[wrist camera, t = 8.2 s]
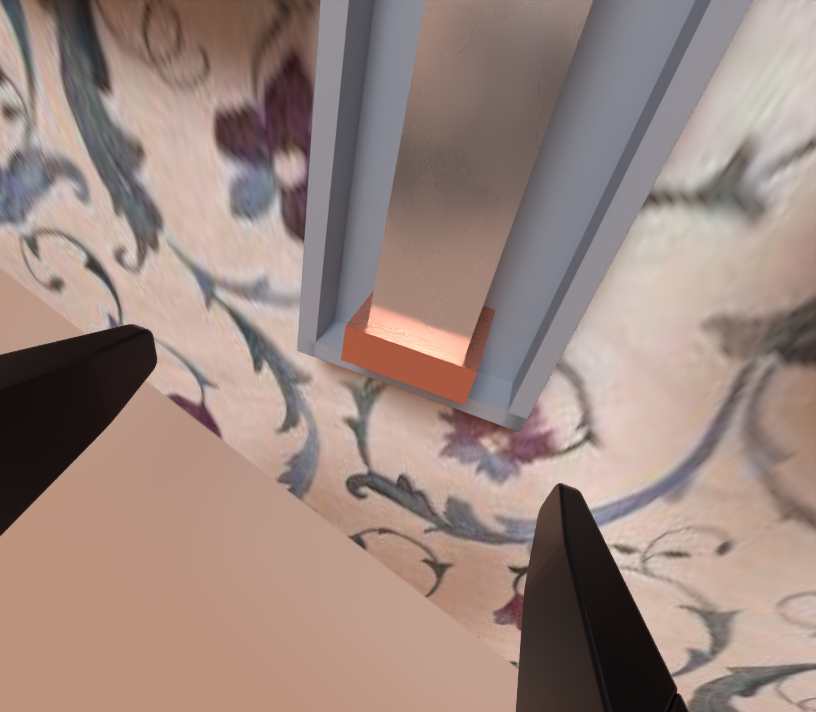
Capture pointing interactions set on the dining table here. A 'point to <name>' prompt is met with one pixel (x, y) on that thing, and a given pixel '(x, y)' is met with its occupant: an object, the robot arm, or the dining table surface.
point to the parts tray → (545, 191)
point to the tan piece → (460, 183)
